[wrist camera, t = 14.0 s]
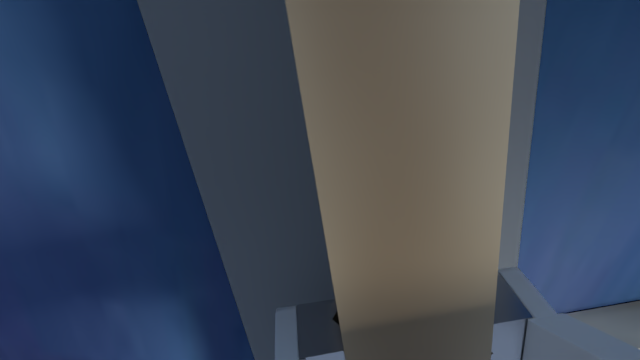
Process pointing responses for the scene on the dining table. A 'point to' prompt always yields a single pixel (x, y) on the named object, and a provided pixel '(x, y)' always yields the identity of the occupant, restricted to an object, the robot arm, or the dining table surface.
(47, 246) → the dining table surface
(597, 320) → the board
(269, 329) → the mat
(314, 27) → the turner
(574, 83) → the dining table surface
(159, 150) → the dining table surface
